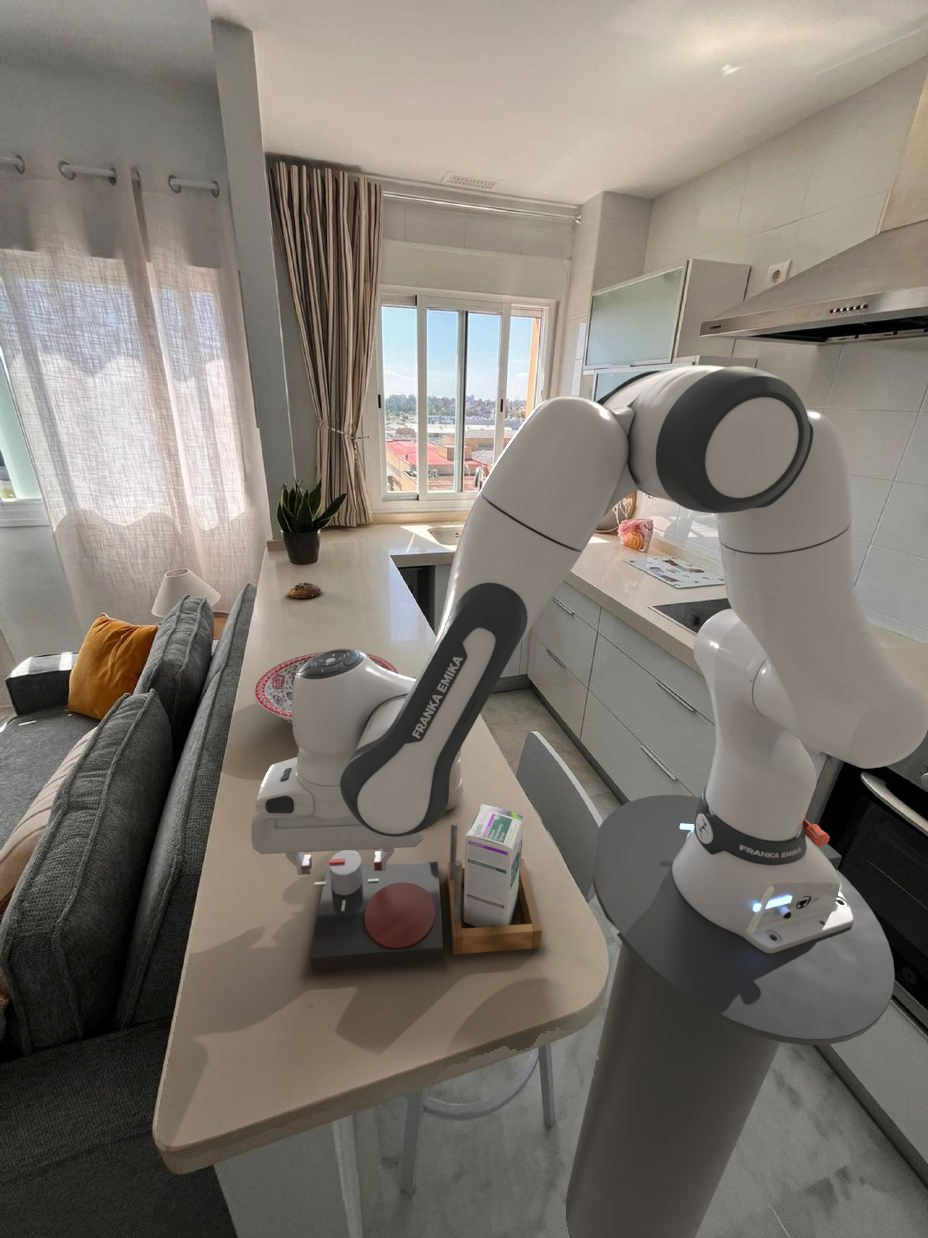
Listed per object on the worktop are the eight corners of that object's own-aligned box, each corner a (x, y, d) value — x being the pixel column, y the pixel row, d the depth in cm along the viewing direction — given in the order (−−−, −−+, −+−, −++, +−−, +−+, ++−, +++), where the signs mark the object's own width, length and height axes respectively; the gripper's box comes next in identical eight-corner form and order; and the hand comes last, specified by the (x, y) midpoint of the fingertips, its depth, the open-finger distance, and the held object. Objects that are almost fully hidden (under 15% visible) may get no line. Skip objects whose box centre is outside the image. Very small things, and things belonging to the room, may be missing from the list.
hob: (437, 865, 70) (437, 851, 69) (442, 962, 58) (443, 946, 57) (321, 872, 69) (319, 857, 68) (301, 973, 56) (298, 957, 55)
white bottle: (470, 806, 81) (475, 701, 74) (435, 823, 78) (436, 714, 70) (449, 784, 86) (452, 683, 79) (415, 798, 82) (414, 694, 75)
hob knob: (363, 868, 66) (362, 847, 65) (360, 894, 63) (359, 872, 61) (333, 870, 66) (331, 848, 64) (328, 896, 62) (326, 874, 61)
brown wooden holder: (521, 874, 69) (528, 807, 65) (539, 948, 60) (549, 874, 55) (447, 879, 68) (449, 810, 64) (453, 955, 58) (455, 880, 54)
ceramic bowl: (279, 681, 117) (275, 651, 115) (402, 679, 120) (402, 650, 117) (238, 758, 91) (232, 721, 88) (398, 754, 93) (398, 718, 90)
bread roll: (321, 597, 173) (318, 584, 171) (288, 603, 170) (285, 590, 168) (321, 589, 183) (318, 576, 181) (290, 594, 180) (287, 581, 179)
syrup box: (506, 939, 60) (514, 849, 55) (461, 922, 62) (465, 834, 57) (517, 900, 65) (526, 814, 60) (475, 886, 67) (480, 801, 62)
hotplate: (433, 881, 65) (433, 880, 65) (437, 946, 57) (437, 944, 57) (367, 885, 64) (367, 884, 64) (361, 951, 56) (361, 950, 56)
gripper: (425, 761, 62) (423, 845, 67) (256, 766, 60) (267, 852, 65) (427, 796, 56) (425, 885, 61) (240, 803, 54) (253, 895, 59)
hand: (343, 868), depth 63 cm, fingers open, 8 cm apart
